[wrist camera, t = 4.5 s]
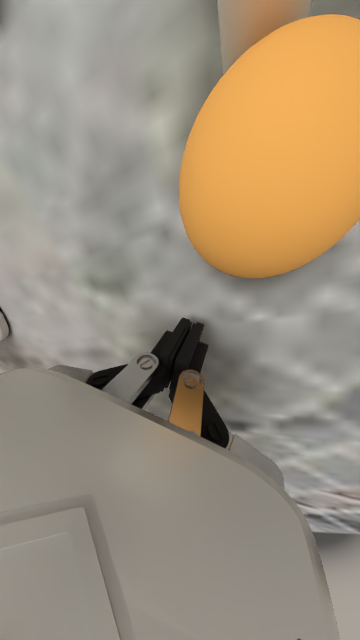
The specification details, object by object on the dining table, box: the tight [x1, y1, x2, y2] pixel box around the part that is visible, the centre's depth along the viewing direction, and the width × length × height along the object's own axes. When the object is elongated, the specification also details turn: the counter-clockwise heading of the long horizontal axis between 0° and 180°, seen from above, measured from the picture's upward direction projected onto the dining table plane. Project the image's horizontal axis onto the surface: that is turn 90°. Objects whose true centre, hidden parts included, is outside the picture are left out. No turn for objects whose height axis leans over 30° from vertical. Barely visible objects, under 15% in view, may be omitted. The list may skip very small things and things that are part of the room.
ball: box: [179, 14, 360, 278], centre depth 6 cm, size 6×6×6 cm
